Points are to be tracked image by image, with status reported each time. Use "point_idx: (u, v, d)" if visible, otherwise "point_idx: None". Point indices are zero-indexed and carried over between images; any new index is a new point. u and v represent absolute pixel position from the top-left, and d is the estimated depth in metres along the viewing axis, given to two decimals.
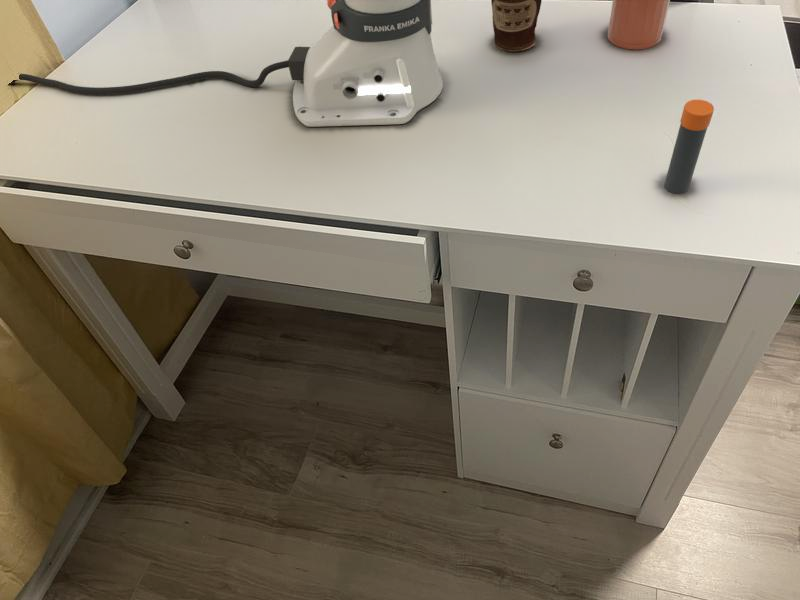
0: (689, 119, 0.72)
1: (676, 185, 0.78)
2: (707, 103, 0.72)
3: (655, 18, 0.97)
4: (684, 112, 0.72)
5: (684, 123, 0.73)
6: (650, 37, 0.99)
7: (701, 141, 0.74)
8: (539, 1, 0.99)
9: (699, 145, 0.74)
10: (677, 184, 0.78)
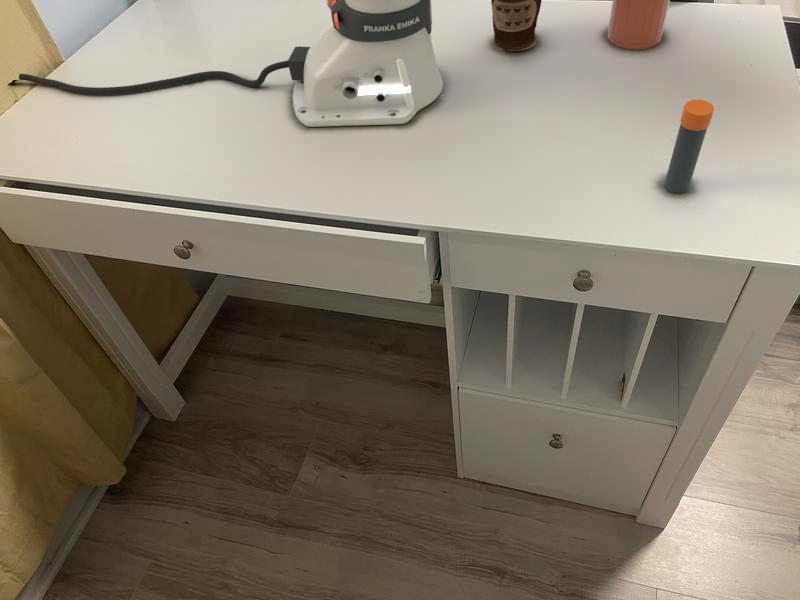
0: (689, 119, 0.72)
1: (676, 185, 0.78)
2: (707, 103, 0.72)
3: (655, 18, 0.97)
4: (684, 112, 0.72)
5: (684, 123, 0.73)
6: (650, 37, 0.99)
7: (701, 141, 0.74)
8: (539, 1, 0.99)
9: (699, 145, 0.74)
10: (677, 184, 0.78)
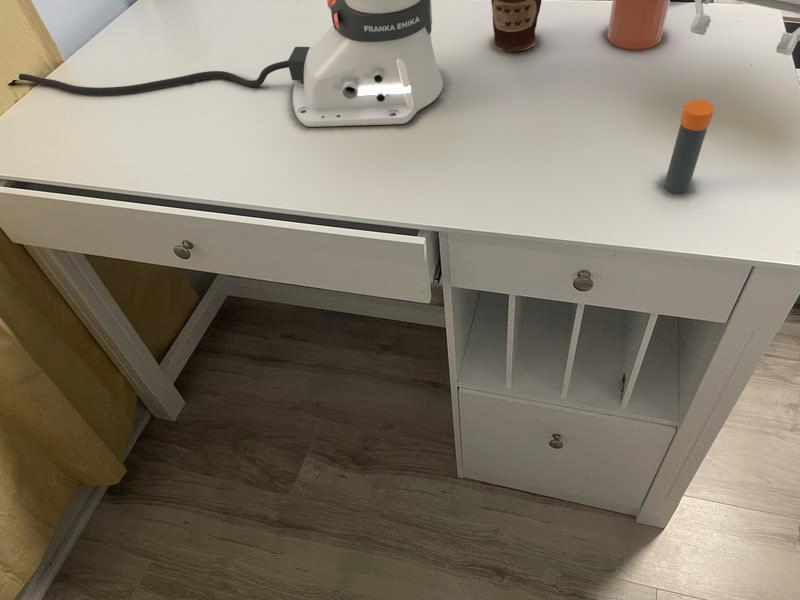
0: (689, 119, 0.72)
1: (676, 185, 0.78)
2: (707, 103, 0.72)
3: (655, 18, 0.97)
4: (684, 112, 0.72)
5: (684, 123, 0.73)
6: (650, 37, 0.99)
7: (701, 141, 0.74)
8: (539, 1, 0.99)
9: (699, 145, 0.74)
10: (677, 184, 0.78)
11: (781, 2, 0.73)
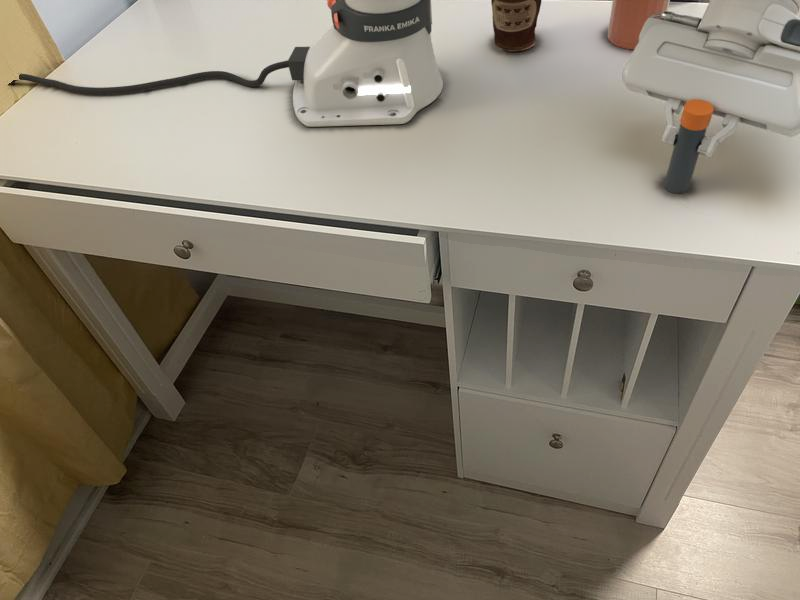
0: (689, 119, 0.72)
1: (675, 185, 0.78)
2: (707, 103, 0.72)
3: None
4: (684, 112, 0.72)
5: (684, 123, 0.73)
6: None
7: None
8: (539, 1, 0.99)
9: (698, 145, 0.74)
10: (677, 184, 0.78)
11: None
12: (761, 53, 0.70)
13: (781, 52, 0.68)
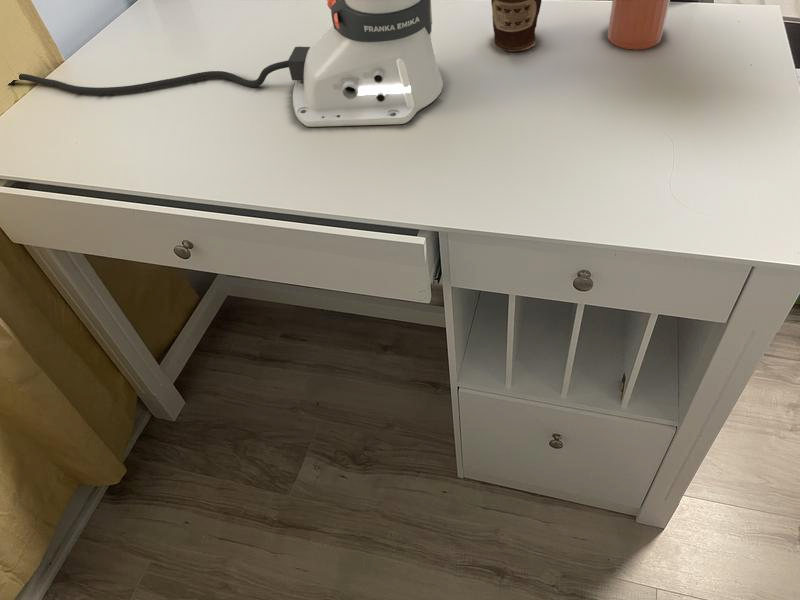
0: None
1: None
2: None
3: (655, 18, 0.97)
4: None
5: None
6: (650, 37, 0.99)
7: None
8: (539, 1, 0.99)
9: None
10: None
11: None
12: None
13: None
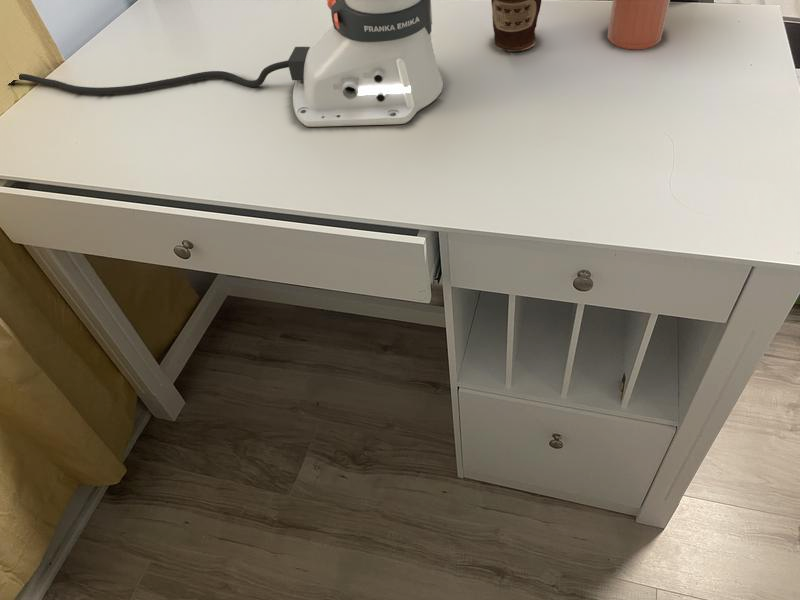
0: None
1: None
2: None
3: (655, 18, 0.97)
4: None
5: None
6: (650, 37, 0.99)
7: None
8: (539, 1, 0.99)
9: None
10: None
11: None
12: None
13: None
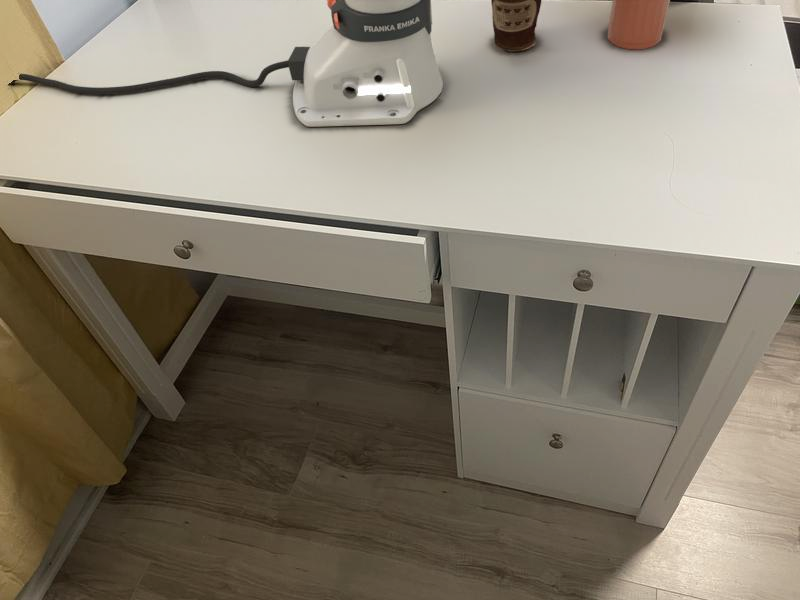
0: None
1: None
2: None
3: (655, 18, 0.97)
4: None
5: None
6: (650, 37, 0.99)
7: None
8: (539, 1, 0.99)
9: None
10: None
11: None
12: None
13: None
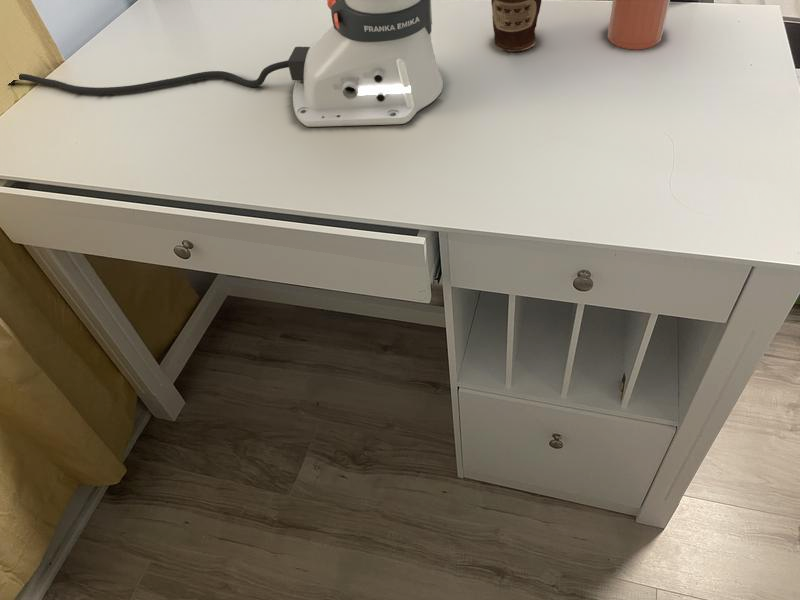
0: None
1: None
2: None
3: (655, 18, 0.97)
4: None
5: None
6: (650, 37, 0.99)
7: None
8: (539, 1, 0.99)
9: None
10: None
11: None
12: None
13: None
